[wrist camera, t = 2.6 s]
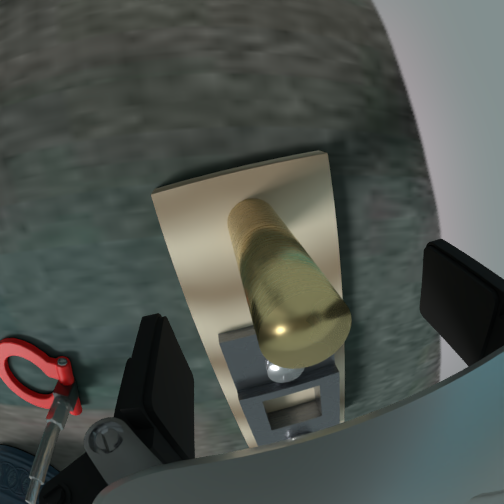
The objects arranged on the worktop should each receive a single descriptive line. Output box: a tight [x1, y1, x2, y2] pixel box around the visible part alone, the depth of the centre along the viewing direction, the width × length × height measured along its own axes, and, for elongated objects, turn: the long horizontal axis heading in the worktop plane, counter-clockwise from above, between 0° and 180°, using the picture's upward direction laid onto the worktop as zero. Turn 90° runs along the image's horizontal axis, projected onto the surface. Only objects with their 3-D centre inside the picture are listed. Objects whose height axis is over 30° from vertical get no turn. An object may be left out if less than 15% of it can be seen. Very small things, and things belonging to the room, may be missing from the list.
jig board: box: [151, 150, 345, 448], centre depth 23 cm, size 26×10×2 cm, turn 12°
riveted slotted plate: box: [218, 325, 340, 446], centre depth 23 cm, size 16×8×3 cm, turn 12°
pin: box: [227, 198, 351, 369], centre depth 13 cm, size 3×3×10 cm
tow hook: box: [0, 338, 82, 504], centre depth 16 cm, size 8×13×9 cm
